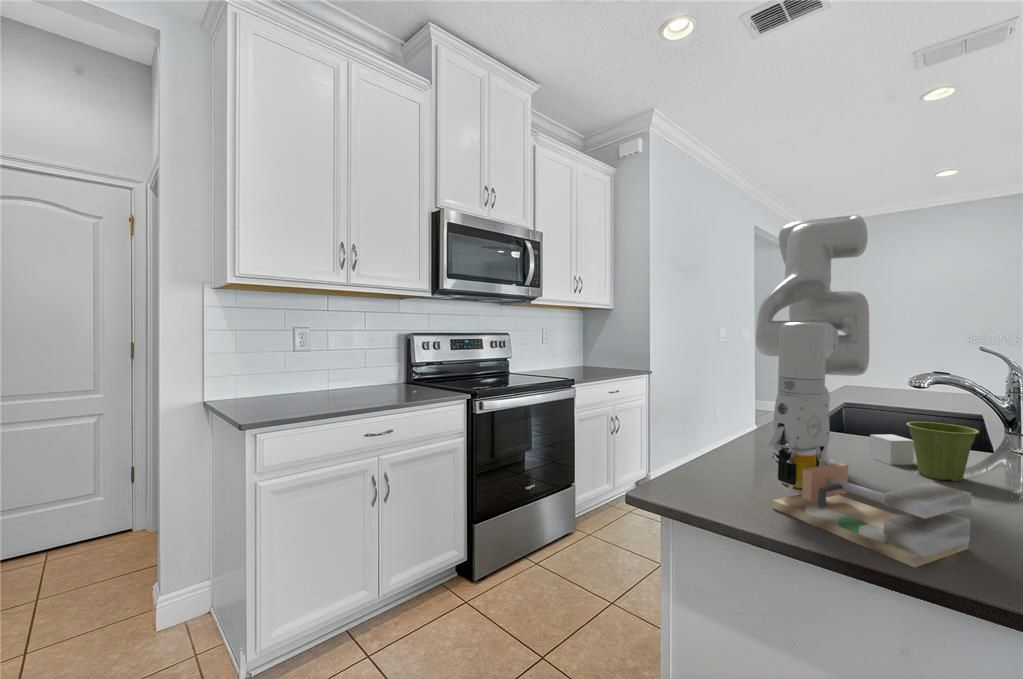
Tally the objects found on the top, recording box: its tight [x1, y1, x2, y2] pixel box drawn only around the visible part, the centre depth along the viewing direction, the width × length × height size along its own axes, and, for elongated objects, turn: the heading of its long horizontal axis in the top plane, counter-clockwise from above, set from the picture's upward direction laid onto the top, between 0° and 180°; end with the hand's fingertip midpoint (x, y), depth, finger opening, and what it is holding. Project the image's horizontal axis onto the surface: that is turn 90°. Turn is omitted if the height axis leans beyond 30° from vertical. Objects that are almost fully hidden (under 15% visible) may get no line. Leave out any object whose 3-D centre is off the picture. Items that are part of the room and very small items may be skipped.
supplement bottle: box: [781, 443, 816, 495], centre depth 86 cm, size 6×6×10 cm
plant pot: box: [906, 421, 980, 482], centre depth 101 cm, size 12×12×11 cm
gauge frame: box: [771, 481, 972, 569], centre depth 76 cm, size 22×14×9 cm, turn 22°
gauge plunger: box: [802, 462, 885, 508], centre depth 75 cm, size 15×11×5 cm
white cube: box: [869, 433, 915, 466], centre depth 113 cm, size 6×6×6 cm
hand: (798, 479), depth 86 cm, fingers closed on supplement bottle, 5 cm apart
